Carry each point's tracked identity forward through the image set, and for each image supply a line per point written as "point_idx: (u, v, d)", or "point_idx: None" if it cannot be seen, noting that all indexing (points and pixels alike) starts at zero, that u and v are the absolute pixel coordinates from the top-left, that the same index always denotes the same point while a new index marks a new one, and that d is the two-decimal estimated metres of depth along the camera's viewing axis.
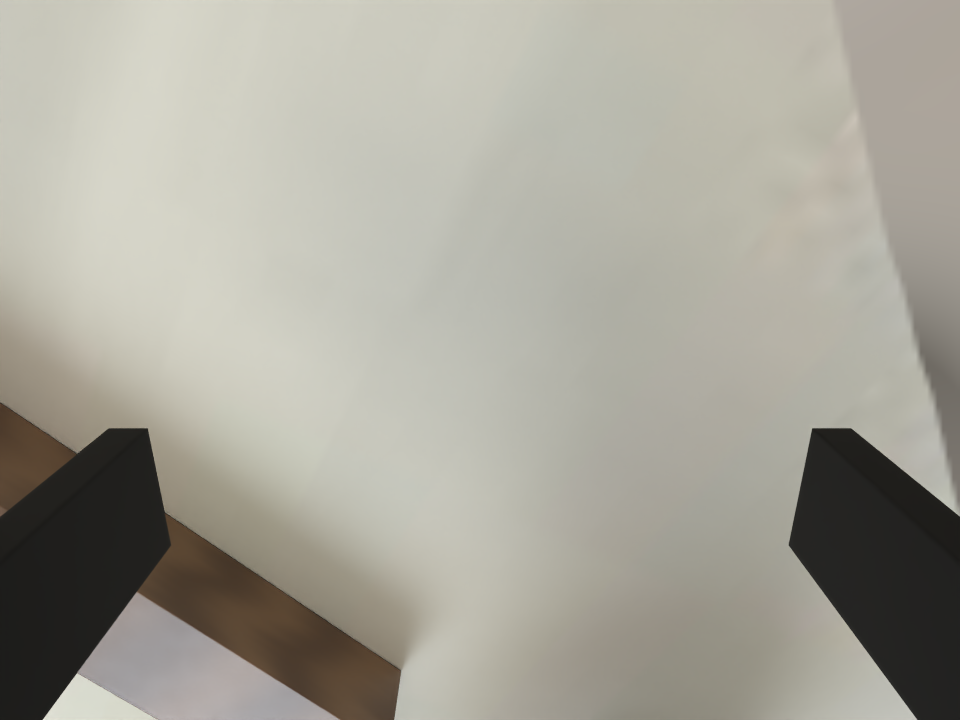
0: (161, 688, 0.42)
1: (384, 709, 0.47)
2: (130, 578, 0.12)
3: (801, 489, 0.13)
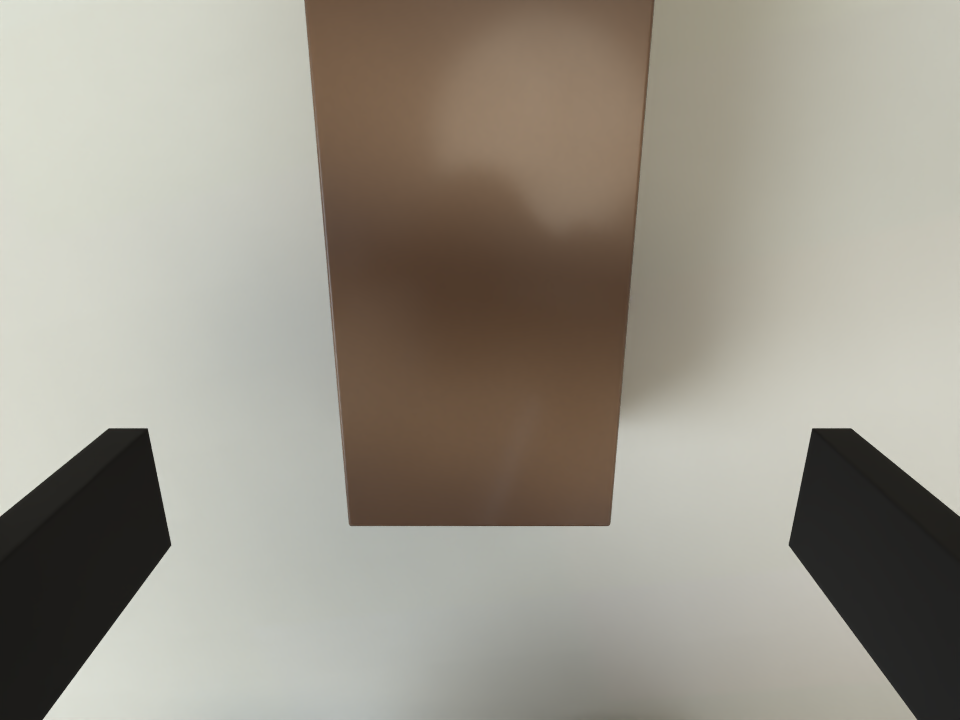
0: (414, 3, 0.15)
1: None
2: (130, 579, 0.12)
3: (802, 489, 0.13)
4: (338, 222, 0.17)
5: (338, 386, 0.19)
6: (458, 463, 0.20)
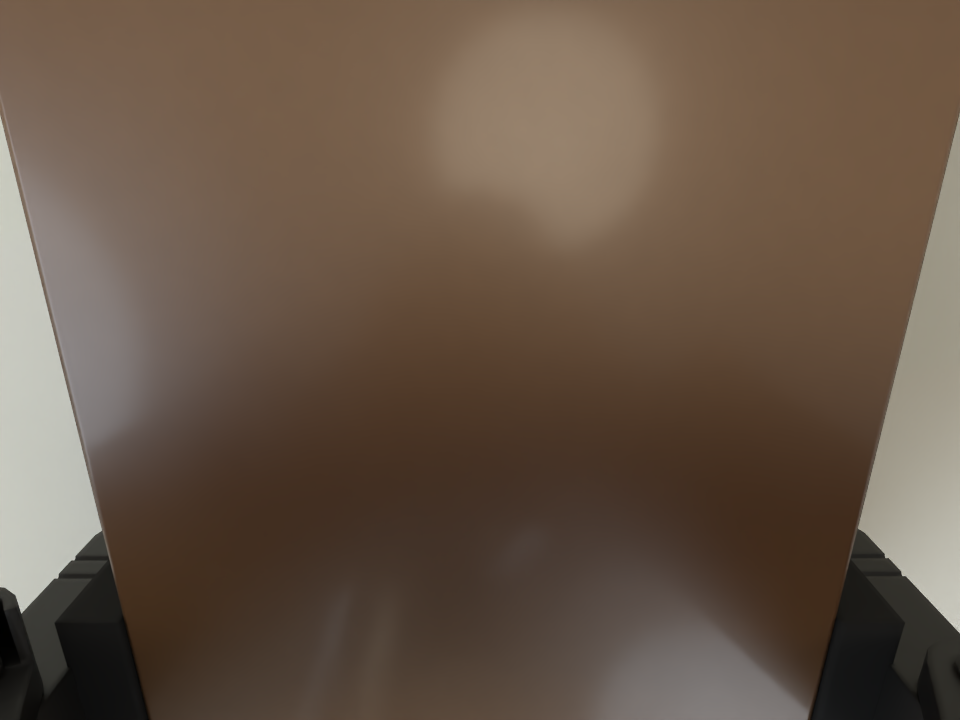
0: None
1: None
2: None
3: None
4: (104, 382, 0.06)
5: None
6: None
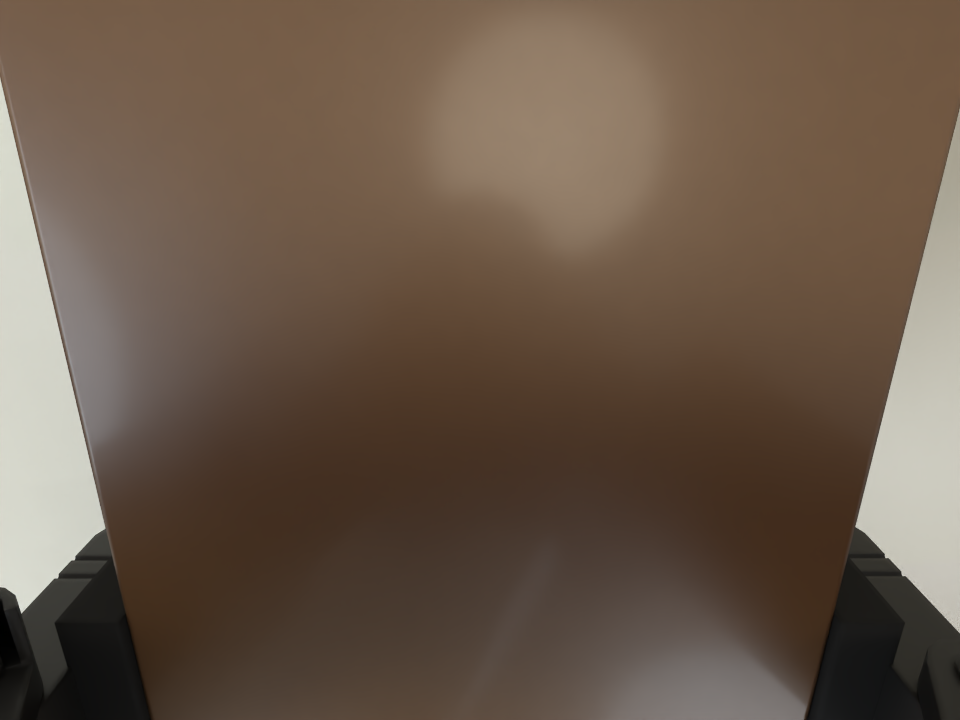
0: None
1: None
2: None
3: None
4: (107, 373, 0.06)
5: None
6: None
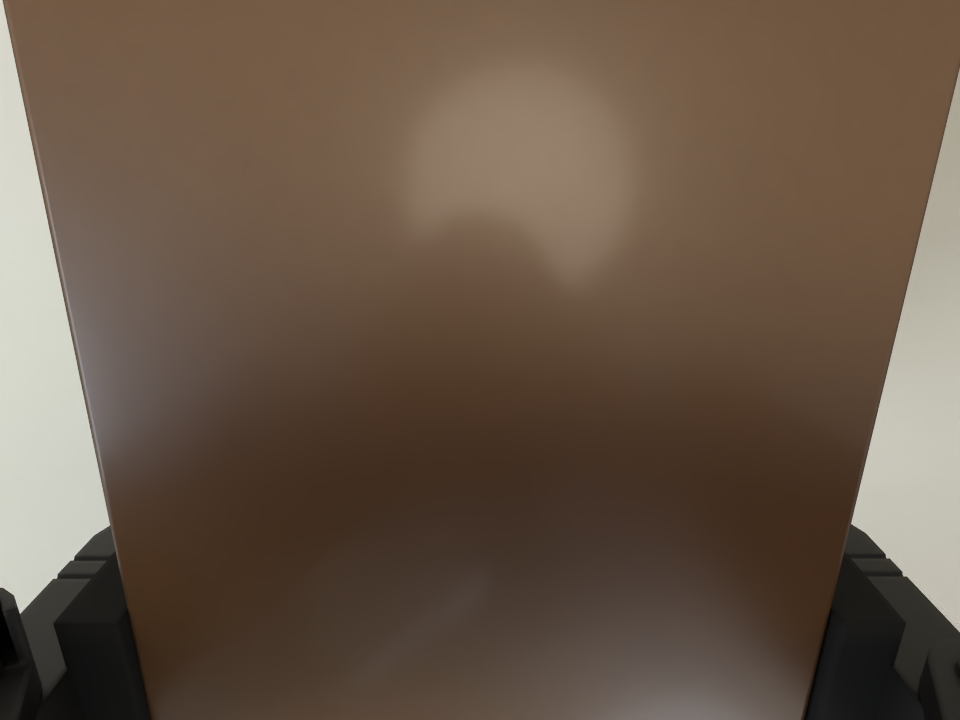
0: None
1: None
2: None
3: None
4: (114, 362, 0.07)
5: (151, 714, 0.08)
6: None
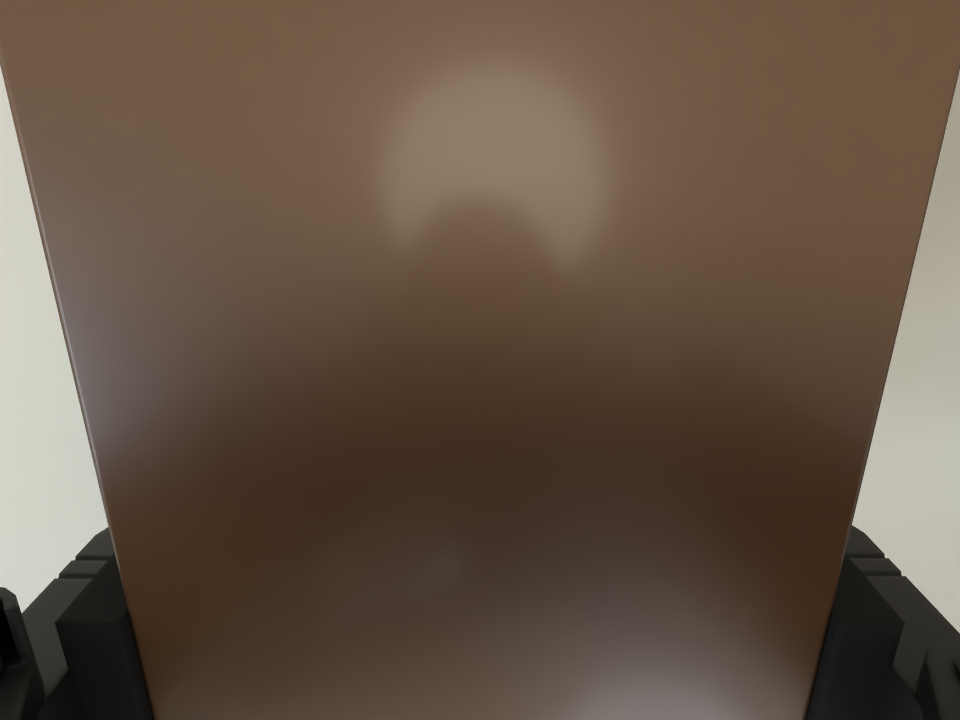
0: None
1: None
2: None
3: None
4: (108, 365, 0.07)
5: (154, 713, 0.08)
6: None
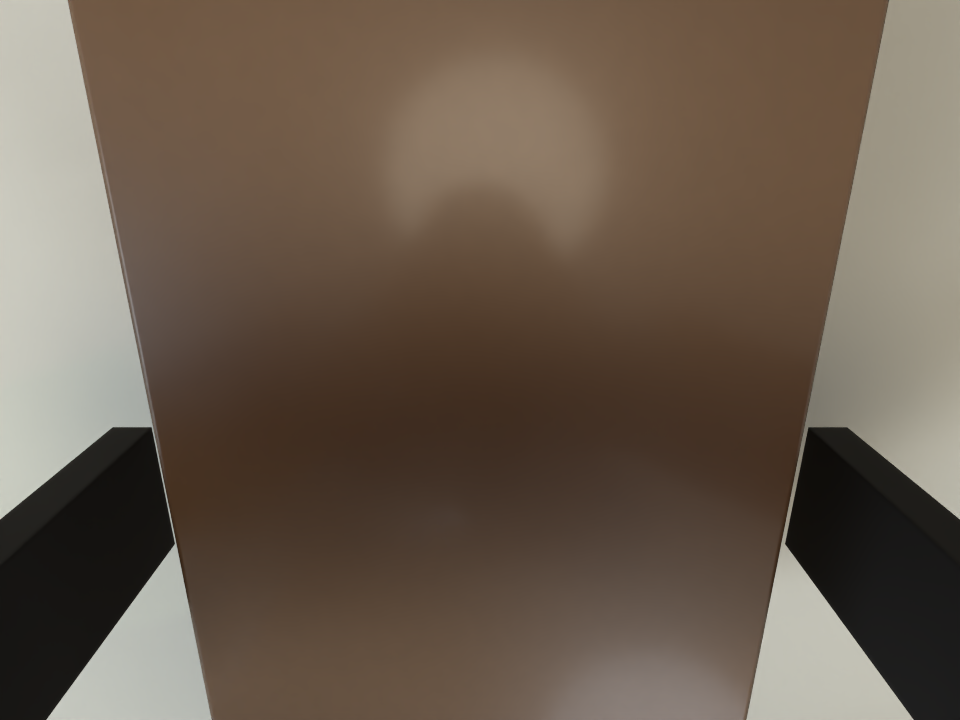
0: None
1: None
2: (134, 577, 0.12)
3: (798, 488, 0.13)
4: (165, 328, 0.08)
5: (196, 636, 0.09)
6: None
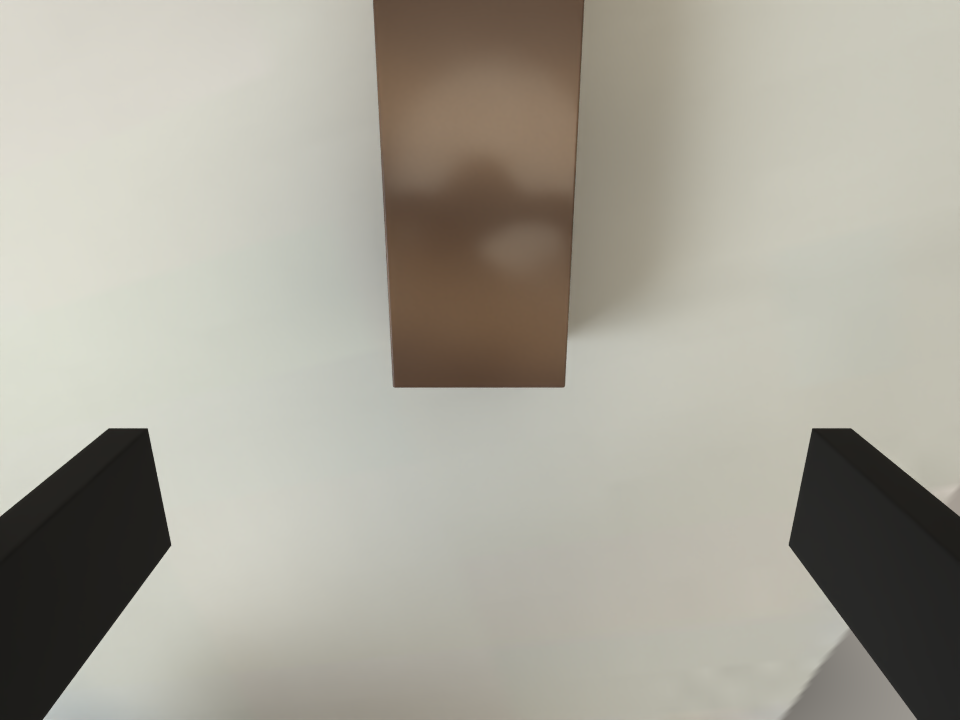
0: (440, 52, 0.26)
1: None
2: (130, 578, 0.12)
3: (802, 489, 0.13)
4: (392, 183, 0.28)
5: (389, 290, 0.30)
6: (465, 342, 0.30)
